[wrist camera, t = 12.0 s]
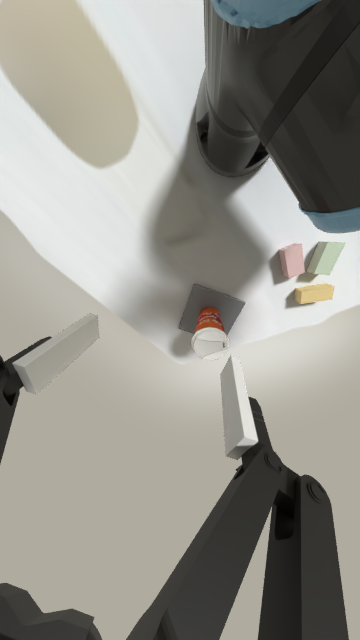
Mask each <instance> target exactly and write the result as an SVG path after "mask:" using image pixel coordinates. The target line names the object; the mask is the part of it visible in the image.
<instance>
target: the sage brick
mask: <svg viewBox="0 0 360 640" xmlns="http://www.w3.org/2000/svg"><path fill="white" fill-rule="evenodd" d="M344 245H345V243H341V242H318V245H317V247H316V250H315V252H314V254H313V257H312V259H311V261H310V264H309V266H308V269H307V271H306V272H309V273H312V274H321V275H330V273H331V271H332V269H333V267H334V265H335V263H336V261H337V259H338V257H339V255H340V253H341V251H342V249H343V247H344Z"/></svg>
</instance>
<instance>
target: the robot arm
mask: <svg viewBox="0 0 360 640" xmlns="http://www.w3.org/2000/svg"><path fill="white" fill-rule="evenodd" d="M204 26H205V64H206V67H205V70H204V73H203V76H202V80H201V83H200V87H199V91H198V96H197V102H196V114H195V120H196V133H197V140H198V145H199V148H200V151H201V154H202V156H203V158H204V160H205V161H206V163H207V164H208V165H209V167H210V168H211V169H213V170H214V171H215V172H217V173H218V174H221V175H223V176H227V177H237V176H242V175H245V174H247V173H249V172H251V171H253V170H255V169H256V168H257V167H259V166H260V165H261V164H262V163H263V162H264V161H265V160H266V159H267V158H268V157H269V156H270V157H271V159H272V160H273V162H274V163H275V165H276V167H277V168H278V170H279V171H280V173H281V175H282V176H283V178H284V179H285V181H286V182H287V184H288V186H289V187H290V189H291V190H292V192H293V194H294V195H295V197H296V198H297V200H298V201H299V208H300V210H301V211H302V212H303V213H304V214H306V215H307V216H308V217H309V218H310V220H311V221H312V223H313V224H314V225H315V227H317V228H318V229H320V230H322V231H324V232H327V233H348V232H355V231H360V0H204ZM98 329H99V328H98V316H97V315H94V314H91V313H90V314H88V315H87V316H85V317H83V318H82V319H80V320H79V321H77V322H76V323H74V324H73V325H71V326H70V327H68V328H66V329H65V330H63V331H62V332H60V333H59V334H57V335H56V336H54V337H46V338H44V339H41V340H39V341H38V342H36V343H34V345H31V346H29V347H28V348H27V349H24V350H23V351H21V352H20V353H18V354H16V355H15V356H13V357H11V358H10V359H8V360H7V361H5V362H4V361H3V359H2V357H1V356H0V463H1V459H2V456H3V452H4V448H5V445H6V441H7V438H8V434H9V430H10V427H11V423H12V419H13V416H14V412H15V408H16V405H17V401H18V397H19V394H20V393H19V389H20V388H22V387H23V386H24V387H25V390H26V391H28V392H30V393H33V394H38V393H39V392H40V391H41V390H42V389H43V388H44V387H45V386H47V385H48V384H49V383H50V382H51V381H52V380H53V379H54V378H55V377H57V375H59V374H60V373H61V372H62V371H63V370H64V369H65V368H66V367H67V366H69V365H70V364H71V363H72V362H73V361H74V360H75V359H76V358H77V357H78V356H80V355H81V353H83V352H84V351H85V350H86V349H87V348H88V347H89V346H91V345H92V344H93V343H94V342H95V341H96V340H97V339H98V338H99V330H98ZM221 391H222V405H223V422H224V437H225V452H226V456H227V457H230V458H233V459H236V460H238V459H239V458H240V457H242V465H241V466H240V467H239V468H237V469H236V471H237V472H236V474H235V475H234V477H233V479H232V480H231V482H230V483H229V485H228V486H227V488H226V490H225V491H224V493H223V494H222V496H221V498H220V499H219V500H218V502H217V504H216V505H215V507H214V508H213V510H212V511H211V513H210V515H209V516H208V518H207V519H206V521H205V522H204V524H203V525H202V527H201V528H200V530H199V532H198V533H197V535H196V536H195V538H194V539H193V541H192V543H191V544H190V546H189V547H188V549H187V550H186V552H185V553H184V555H183V557H182V558H181V560H180V561H179V563H178V564H177V566H176V568H175V569H174V571H173V572H172V574H171V575H170V577H169V579H168V580H167V582H166V583H165V585H164V586H163V588H162V589H161V591H160V592H159V594H158V596H157V597H156V599H155V600H154V602H153V603H152V605H151V606H150V607H149V609H148V610H147V611H146V612H145V613H144V614H143V616H142V617H141V618H140V619H139V621H138V622H137V624H136V625H135V627H134V628H133V630H132V631H131V633H130V635H129V636H128V638H127V639H126V640H219V639H220V636H221V633H222V631H223V628H224V626H225V623H226V621H227V618H228V616H229V613H230V611H231V608H232V606H233V603H234V601H235V598H236V595H237V593H238V590H239V588H240V585H241V583H242V580H243V578H244V575H245V573H246V570H247V568H248V565H249V563H250V560H251V557H252V554H253V552H254V550H255V547H256V545H257V542H258V540H259V537H260V535H261V532H262V530H263V527H264V524H265V522H266V520H267V517H268V514H269V512H270V509H271V507H272V513H271V523H270V532H269V541H268V551H267V560H266V569H265V579H264V587H263V597H262V607H261V615H260V624H259V635H258V640H349V639H348V630H347V622H346V615H345V607H344V599H343V591H342V584H341V576H340V568H339V561H338V553H337V545H336V538H335V530H334V522H333V515H332V507H331V503H330V499H329V497H328V495H327V493H326V491H325V490H324V488H323V487H322V486H321V484H320V483H319V482H318V481H317V480H315V479H314V478H313V477H311V476H309V475H303V476H299V475H298V474H296V473H295V472H293V471H292V470H290V469H289V468H287V467H286V466H285V465H284V464H283V463H282V462H281V460H280V458H279V457H278V455H277V454H276V453H275V452H274V451H273V449H272V446H271V442H270V439H269V436H268V432H267V428H266V425H265V422H264V418H263V416H262V411H261V407H260V406H259V404H258V402H257V400H256V399H254V398H251V397H248V395H247V390H246V385H245V381H244V376H243V372H242V368H241V363H240V359H239V357H237V356H233V355H231V356H230V357H229V359H228V361H227V363H226V365H225V367H224V369H223V371H222V372H221ZM93 620H94V617H92V616H90V615H87V614H84V613H82V612H80V611H77V610H74V609H68V610H62V611H56V612H51V613H43V612H42V611H41V610H40V608H39V607H38V606H37V604H36V603H35V601H34V600H33V599H32V597H31V596H30V594H29V593H28V592H27V591H26V590H23V589H20V588H18V587H15V586H12V585H10V584H8V583H1V584H0V640H102V638H101V636H100V633H99V631H98V629H97V628H96V627H95V625H94V624H93Z"/></svg>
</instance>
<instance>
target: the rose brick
mask: <svg viewBox="0 0 360 640" xmlns="http://www.w3.org/2000/svg"><path fill="white" fill-rule="evenodd" d="M279 254H280V259H281V265H282V271H283V276H285V277H288V278H291V277H294V276H297V275H300V274H302V273H305V268H304V260H303V252H302V244H297V243H294V244H292V245H289V246H287V247H284V248H282V249H279Z"/></svg>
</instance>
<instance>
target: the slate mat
mask: <svg viewBox="0 0 360 640" xmlns="http://www.w3.org/2000/svg"><path fill="white" fill-rule="evenodd" d="M244 305H245V302H244V301H242V300H239V299H236V298H233V297H230V296H227V295H225V294H222V293H219V292H216V291H213V290H210V289H207V288H205V287H202V286H199V285H196V284H194V287H193V289H192V292H191V295H190V298H189V300H188V303H187V306H186V309H185V312H184V314H183V317H182V320H181V323H180V326H179V328H180V329H183V330H185V331H188V332H191V333H194V334H195V330H196V326H197V322H198V318H199V314H200V312H201V311H202V310H203V309H204V308H207V307H212V308H215V309H216V310H217V311H218V312H219V315H220V317H221V321H222V324H223V327H224V330H225V333H226V335H227V334H228V333H229V331H230V329H231V327H232V326H233V324H234V322H235V320H236V319H237V317H238V315H239V313H240V312H241V310H242V308H243V306H244Z"/></svg>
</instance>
